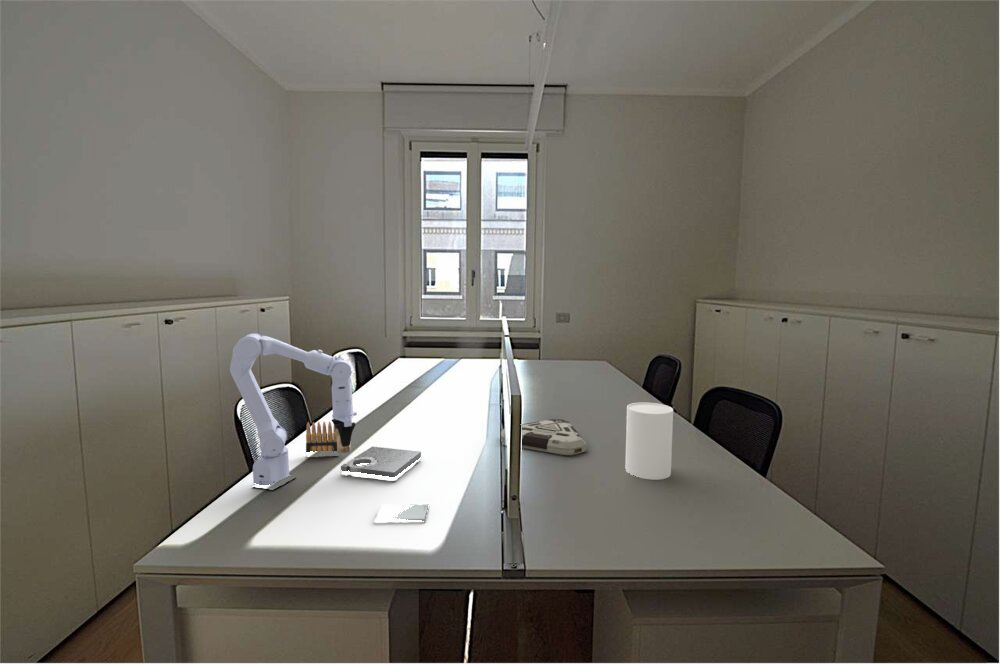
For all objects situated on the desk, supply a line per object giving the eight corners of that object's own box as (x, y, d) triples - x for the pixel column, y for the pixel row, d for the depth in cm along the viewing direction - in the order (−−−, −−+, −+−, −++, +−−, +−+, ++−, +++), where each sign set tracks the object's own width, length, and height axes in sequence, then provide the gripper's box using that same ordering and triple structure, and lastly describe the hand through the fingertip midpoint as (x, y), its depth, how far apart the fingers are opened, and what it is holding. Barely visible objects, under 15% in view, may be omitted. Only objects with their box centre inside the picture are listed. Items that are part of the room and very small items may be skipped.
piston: (345, 453, 146) (345, 431, 145) (333, 452, 147) (333, 429, 146) (354, 449, 150) (353, 427, 149) (342, 447, 151) (341, 425, 150)
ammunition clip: (305, 457, 163) (304, 422, 161) (307, 455, 164) (305, 421, 163) (338, 456, 164) (337, 422, 162) (339, 454, 165) (338, 420, 164)
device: (492, 444, 177) (492, 431, 176) (524, 425, 200) (524, 413, 200) (579, 460, 161) (579, 445, 161) (602, 436, 185) (602, 424, 185)
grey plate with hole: (394, 482, 143) (394, 472, 142) (341, 475, 148) (340, 466, 147) (421, 460, 160) (420, 451, 160) (372, 455, 165) (372, 446, 165)
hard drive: (428, 503, 127) (380, 503, 127) (424, 518, 119) (373, 519, 119) (428, 509, 127) (381, 509, 127) (425, 525, 119) (373, 525, 119)
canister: (669, 465, 156) (671, 403, 154) (672, 481, 143) (674, 415, 141) (625, 460, 159) (627, 401, 157) (624, 476, 146) (626, 412, 144)
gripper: (361, 403, 142) (363, 448, 144) (350, 393, 155) (352, 434, 156) (336, 406, 139) (338, 452, 140) (327, 396, 151) (329, 438, 153)
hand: (344, 443), depth 148 cm, fingers closed on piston, 4 cm apart
